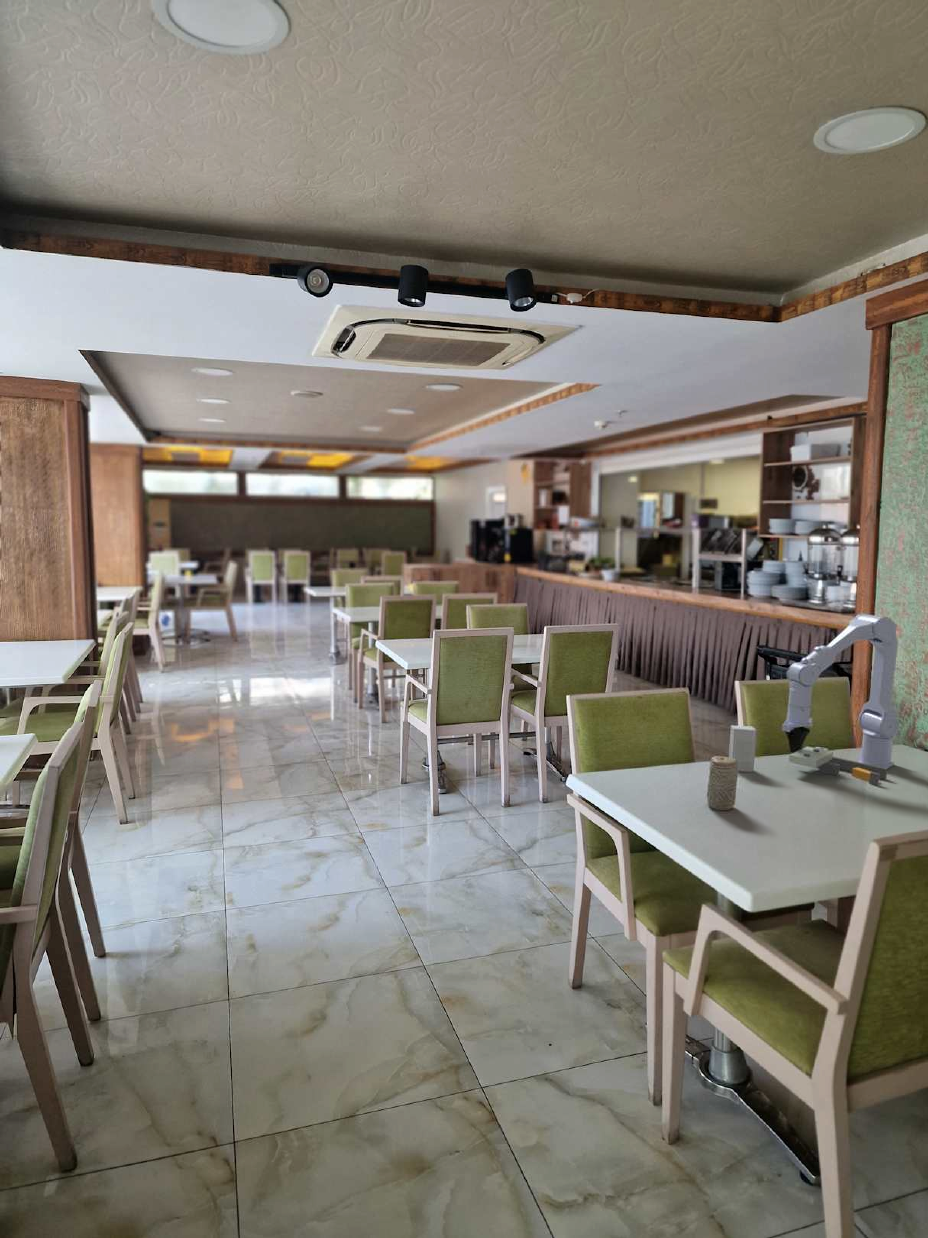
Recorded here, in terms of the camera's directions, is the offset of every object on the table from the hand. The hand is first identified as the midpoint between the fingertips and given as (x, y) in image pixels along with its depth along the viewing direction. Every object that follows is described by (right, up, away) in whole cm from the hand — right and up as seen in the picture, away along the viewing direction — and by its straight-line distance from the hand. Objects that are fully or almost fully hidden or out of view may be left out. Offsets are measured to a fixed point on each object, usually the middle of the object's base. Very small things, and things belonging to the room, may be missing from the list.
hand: (795, 752), depth 217 cm
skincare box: (-17, -4, -3) cm, 18 cm away
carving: (-32, -7, -34) cm, 48 cm away
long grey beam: (+14, -5, -5) cm, 15 cm away
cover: (+3, -5, -4) cm, 7 cm away
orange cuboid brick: (+16, -6, -7) cm, 18 cm away
